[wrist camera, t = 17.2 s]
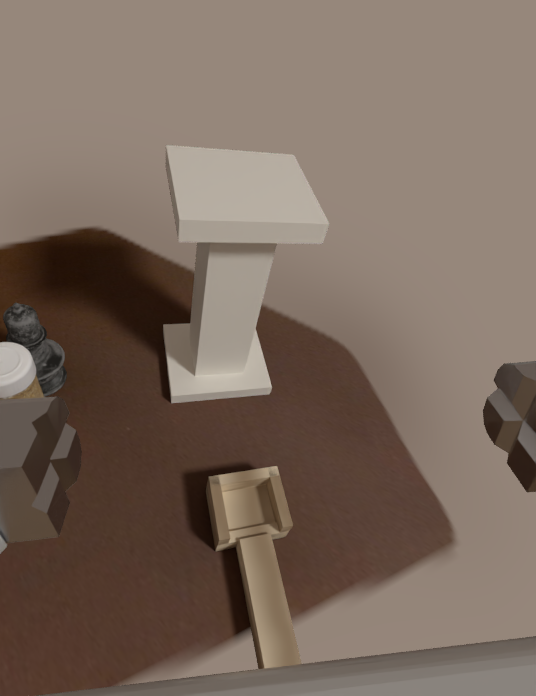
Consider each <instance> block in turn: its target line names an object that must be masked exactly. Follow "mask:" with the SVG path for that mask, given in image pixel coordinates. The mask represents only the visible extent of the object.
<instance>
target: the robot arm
mask: <svg viewBox="0 0 536 696" xmlns="http://www.w3.org/2000/svg"><path fill="white" fill-rule="evenodd" d="M494 382H495V384H496V385H497V387H498V389H497V390H496V391H494V392H493V393H492V394H491V395H490V396H489V397H488V398H487V400H486V403H485V406H484V409H483V417H484V425H485V428H486V431H487V433H488V435H489V437H490V438H491V440H492V441H493V443H494V445H496V446H498V447H499V448H501V449H503V450H504V451H506V452H508V460H507V464H508V465H509V467H510V468H511V470H512V471H513V472H514V474H515V475H516V477H517V478H518V480H519V481H520V483H521V484H522V486H523V487H524V489H525V490H526V492H536V361H532V362H519V363H507V364H503V365H502V366H501V367H500V368H499V369H498V371H497V374H496V376H495V378H494ZM68 415H69V411H68V409H67V406H66V404H65V402H64V400H63V399H61V398H59V397H43V398H24V399H4V400H0V553H1V552H2V551H3V550H4V549H5V548H6V547H7V544H6V543H12V542H20V541H28V540H37V539H45V538H53V537H59V535H60V532H61V529H62V526H63V523H64V519H65V516H66V513H67V510H68V507H69V504H70V501H69V499H68V497H67V495H66V493H65V491H66V490H67V489H69V488H70V487H71V486H72V485H73V484H74V483H75V482H76V481H77V478H78V475H79V471H80V468H81V454H82V451H81V444H80V439H79V436H78V434H77V431H76V430H75V429H73V428H72V427H70V426H69V425H67V424H66V420H67V418H68ZM38 696H536V636H534V637H526V638H517V639H508V640H500V641H492V642H483V643H475V644H466V645H458V646H450V647H442V648H433V649H424V650H417V651H409V652H399V653H391V654H383V655H375V656H366V657H358V658H349V659H341V660H332V661H324V662H315V663H308V664H298V665H290V666H281V667H273V668H265V669H256V670H248V671H240V672H231V673H223V674H214V675H206V676H198V677H189V678H181V679H172V680H164V681H155V682H147V683H139V684H130V685H122V686H113V687H105V688H97V689H88V690H80V691H71V692H63V693H55V694H46V695H38Z"/></svg>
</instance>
